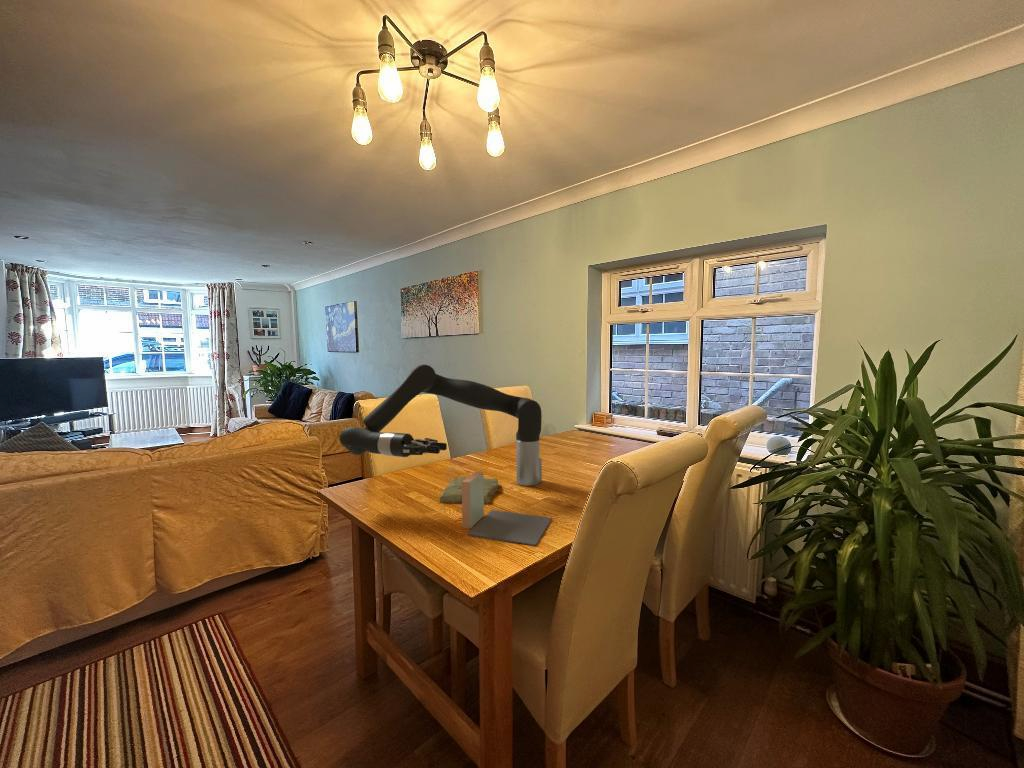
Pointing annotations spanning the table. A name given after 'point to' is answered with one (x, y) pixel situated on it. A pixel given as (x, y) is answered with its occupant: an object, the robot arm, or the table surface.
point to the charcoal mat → (511, 527)
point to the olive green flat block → (455, 490)
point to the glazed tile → (472, 499)
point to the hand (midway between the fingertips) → (442, 448)
